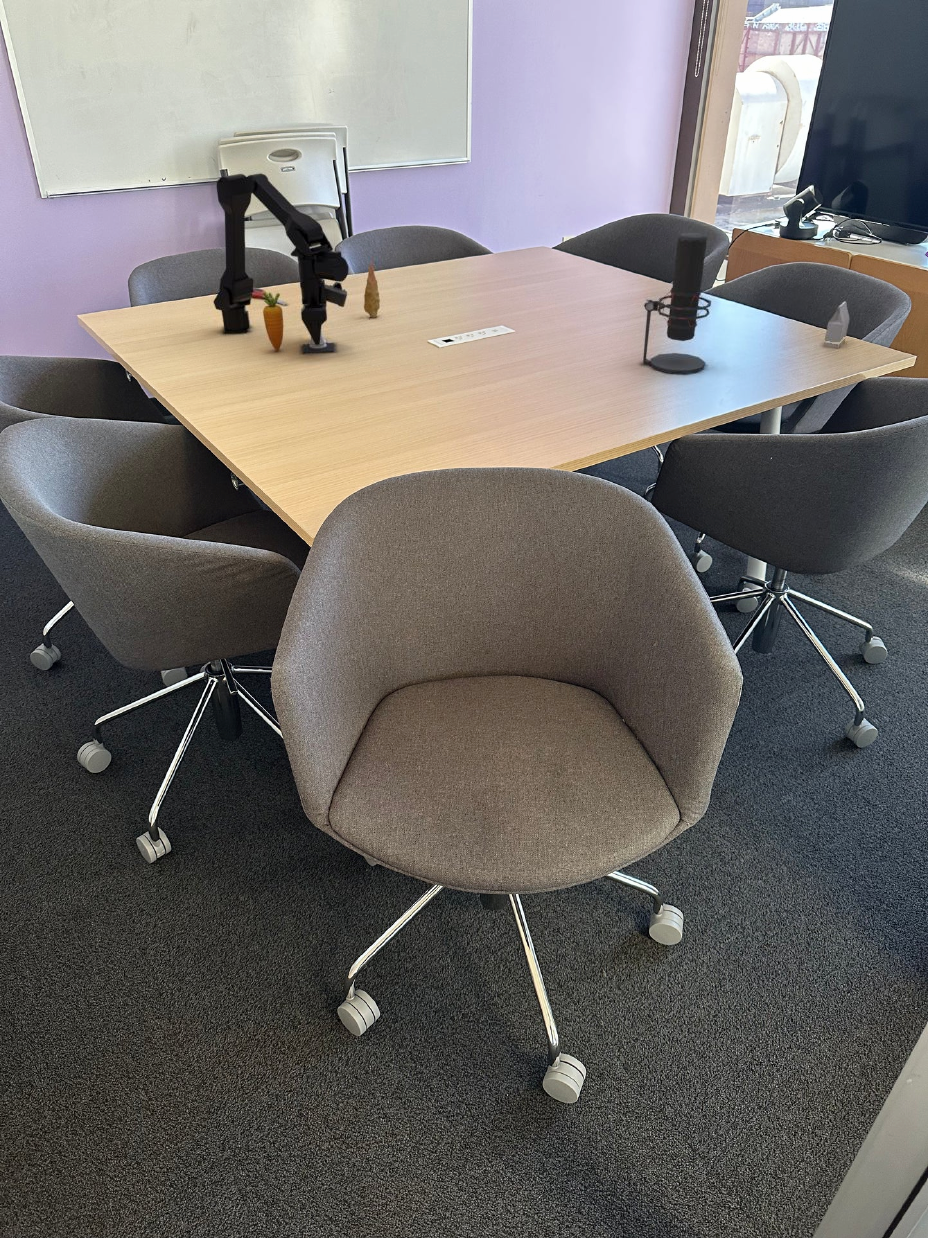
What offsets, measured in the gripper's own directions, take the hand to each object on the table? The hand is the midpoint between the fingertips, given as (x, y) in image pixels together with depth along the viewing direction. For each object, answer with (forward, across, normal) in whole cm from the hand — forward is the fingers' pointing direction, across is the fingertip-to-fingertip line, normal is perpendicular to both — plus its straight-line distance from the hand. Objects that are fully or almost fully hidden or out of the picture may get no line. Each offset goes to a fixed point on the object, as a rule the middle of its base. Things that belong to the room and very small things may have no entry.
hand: (317, 339), depth 233 cm
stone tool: (+3, +27, -16) cm, 31 cm away
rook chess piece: (+2, 0, 0) cm, 2 cm away
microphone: (+3, -28, -86) cm, 91 cm away
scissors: (+3, +54, +16) cm, 56 cm away
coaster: (+2, 0, 0) cm, 2 cm away
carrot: (+3, 0, +10) cm, 11 cm away
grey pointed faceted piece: (+3, -18, -132) cm, 134 cm away
